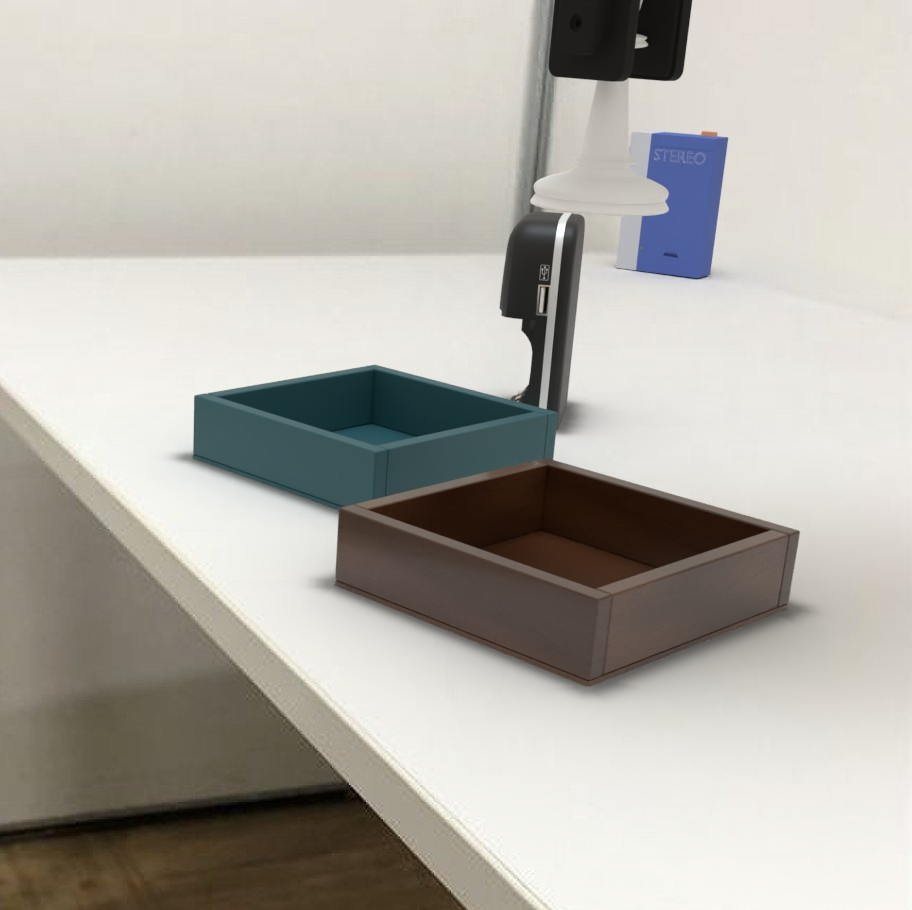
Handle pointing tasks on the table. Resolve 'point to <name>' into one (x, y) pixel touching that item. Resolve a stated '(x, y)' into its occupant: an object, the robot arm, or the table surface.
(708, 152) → the walkman
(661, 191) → the chess piece
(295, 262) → the table surface
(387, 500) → the walnut tray
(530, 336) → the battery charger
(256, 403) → the teal tray
